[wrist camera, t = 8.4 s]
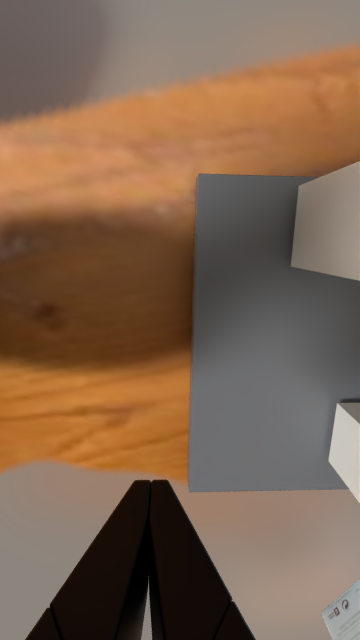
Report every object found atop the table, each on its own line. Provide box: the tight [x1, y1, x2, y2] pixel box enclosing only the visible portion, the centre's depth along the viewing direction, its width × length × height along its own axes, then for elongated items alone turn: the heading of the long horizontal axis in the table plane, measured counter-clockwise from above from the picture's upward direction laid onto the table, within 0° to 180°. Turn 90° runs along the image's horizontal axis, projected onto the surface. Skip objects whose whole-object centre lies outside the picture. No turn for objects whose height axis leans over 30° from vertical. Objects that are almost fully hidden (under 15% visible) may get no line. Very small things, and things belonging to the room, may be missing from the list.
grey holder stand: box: [187, 174, 360, 492], centre depth 16 cm, size 14×19×8 cm
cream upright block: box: [291, 161, 360, 281], centre depth 13 cm, size 2×4×8 cm, turn 179°
